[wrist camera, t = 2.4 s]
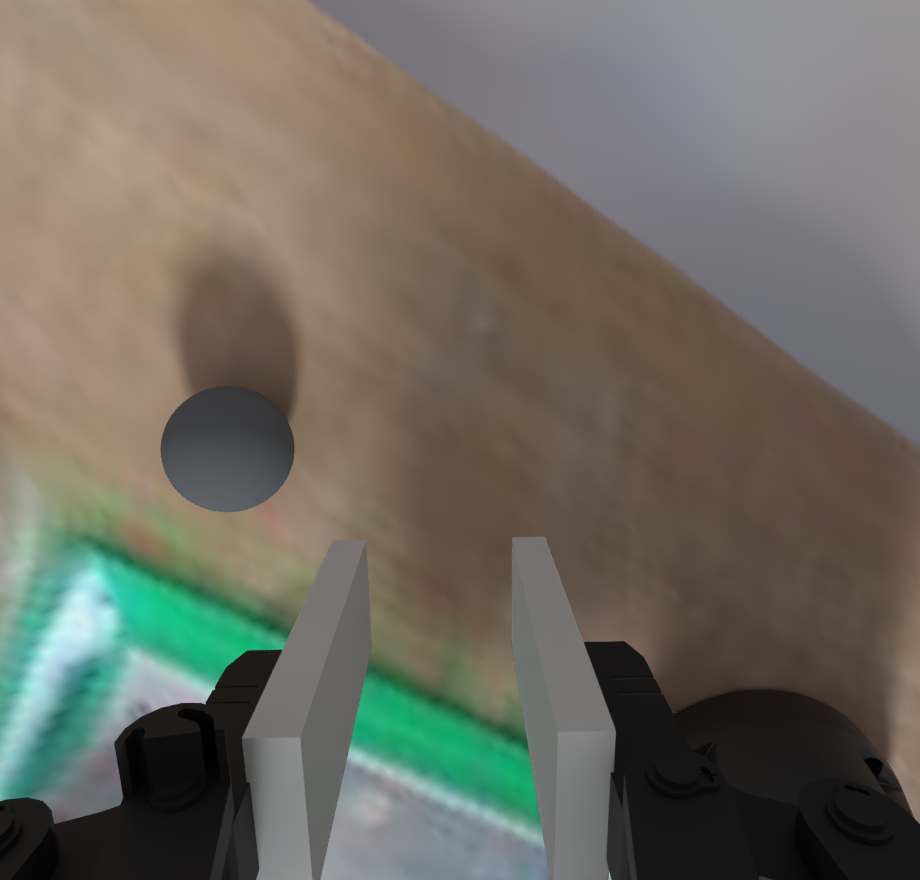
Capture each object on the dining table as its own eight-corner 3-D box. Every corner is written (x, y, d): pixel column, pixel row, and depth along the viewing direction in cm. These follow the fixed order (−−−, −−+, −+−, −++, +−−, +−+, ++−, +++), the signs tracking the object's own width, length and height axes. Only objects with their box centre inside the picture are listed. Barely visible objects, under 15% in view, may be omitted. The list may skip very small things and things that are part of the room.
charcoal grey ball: (302, 376, 30) (269, 397, 25) (310, 488, 32) (281, 530, 26) (185, 378, 30) (127, 399, 25) (197, 490, 31) (146, 532, 26)
